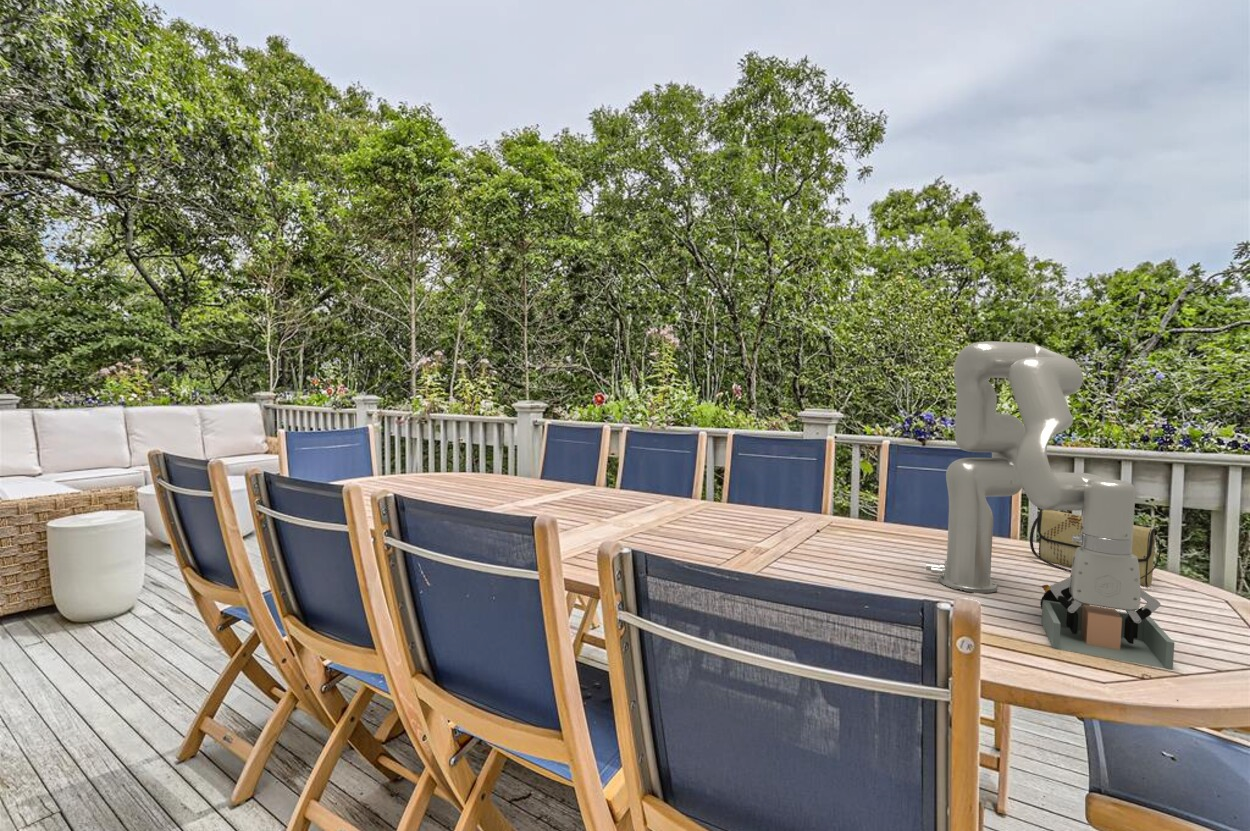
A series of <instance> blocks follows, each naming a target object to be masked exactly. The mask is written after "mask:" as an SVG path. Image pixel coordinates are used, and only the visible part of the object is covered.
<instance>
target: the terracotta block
mask: <svg viewBox="0 0 1250 831" xmlns="http://www.w3.org/2000/svg"><path fill="white" fill-rule="evenodd" d="M1117 611H1118V610H1117V609H1113V608H1106V607H1099V606H1093V605H1084V604H1083V611H1082V627H1081V635H1082V637H1083V639H1084V640H1085V642H1086V644H1090V645H1095V646H1101V647H1107V648H1112V649H1118V650H1120V644H1121V628H1122V617H1121V616H1120V615H1119V613H1118V612H1117Z"/></svg>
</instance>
